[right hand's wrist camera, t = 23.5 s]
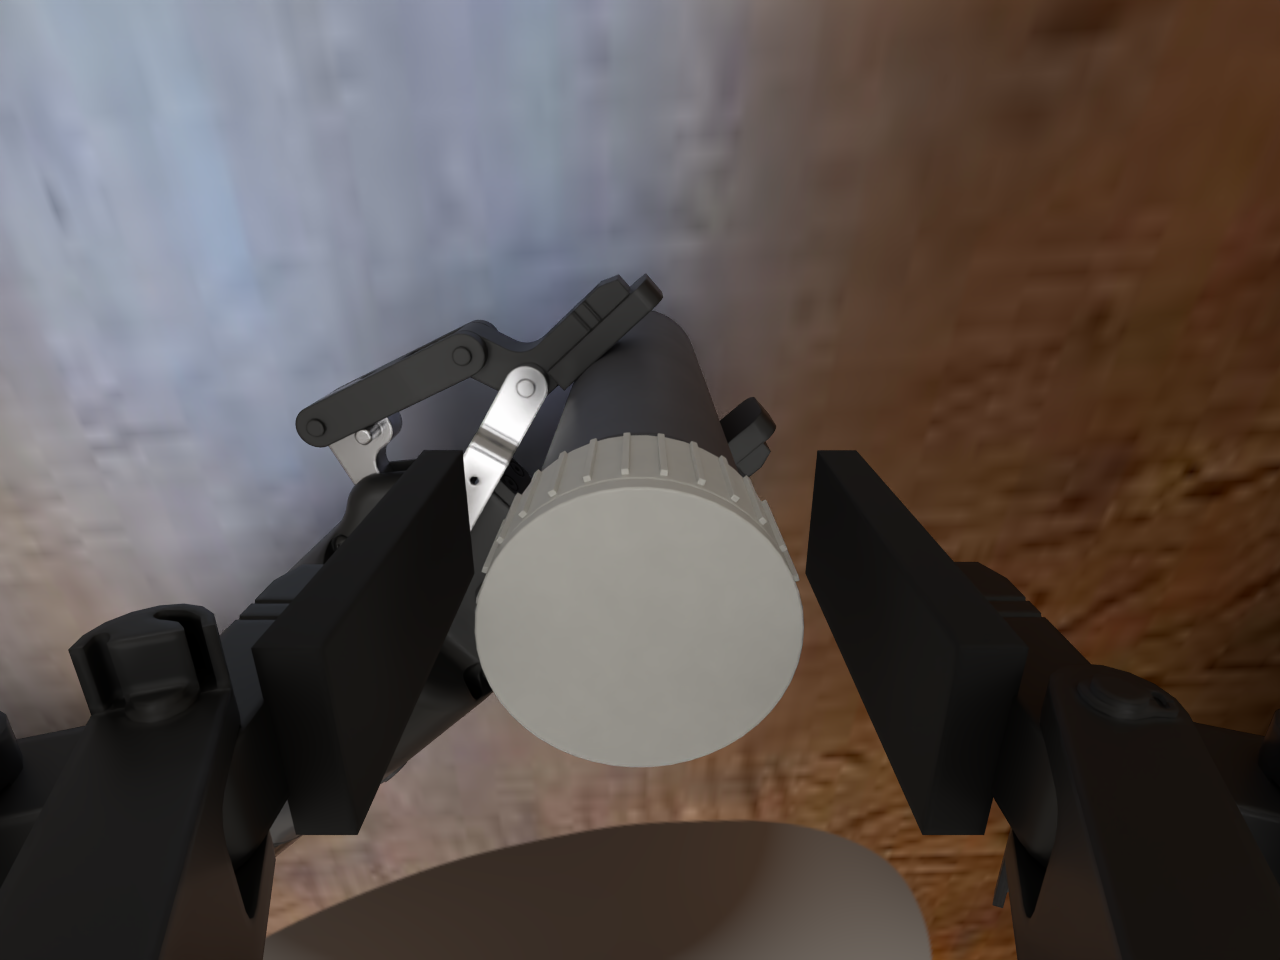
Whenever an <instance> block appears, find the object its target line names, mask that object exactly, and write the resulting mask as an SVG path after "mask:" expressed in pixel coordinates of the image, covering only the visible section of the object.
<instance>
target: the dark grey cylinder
mask: <svg viewBox="0 0 1280 960" xmlns="http://www.w3.org/2000/svg"><path fill="white" fill-rule="evenodd" d="M629 432H630V436H633V435H649V436H658V433H660V434H664V435H665V437H666V438H670V439H675V440H679V441H683V442H686V443H689V444H690V442H691V441H693V442H696V443H697V445H698V447H699V448H702V449H704V450H706V451H707V452H709V453H711V454H713V455H715V456H717V457H719V458H720V456H721V455H722V456H723V457H725V458H726V459H727V462H728V465H730V466H731V467H732V468H734V469H735V470H736V471H737V472H738V470H737V467H736V464H735V462H734V459H733V456H732V453H731V451H730V448H729V445H728V443H727V440H726V437H725V434H724V432H723V429H722V426H721V424H720V421H719V418H718V415H717V413H716V410H715V407H714V404H713V402H712V399H711V396H710V394H709V391H708V388H707V385H706V383H705V380H704V377H703V374H702V372H701V369H700V366H699V364H698V361H697V358H696V355H695V353H694V350H693V347H692V345H691V342H690V340H689V338H688V337H687V335H686V333H685V332H684V331H683V330H682V328H681V327H680V326H679V325H678V324H677V323H676V322H674V321H673V320H672V319H670V318H669V317H667V316H665V315H663V314H661V313H658V312H655V311H650V312H649V313H648V314H647V315H646V316H645V317H644V318H643V319H642V320H641V321H639V322H638V323H637V324H636V325H635V326H634V327H633V328H632V329H631V330H630V331H629V332H628V333H626V334H625V335H624V336H623V337H622V338H621V339H620V340H619V341H618V342H617V343H616V344H614V345H613V346H612V347H611V348H610V349H609V350H608V351H607V352H606V353H605V354H604V355H602V356H601V357H600V358H599V359H598V360H597V361H596V362H595V363H594V364H592V365H591V366H590V367H589V368H588V369H587V370H586V371H584V373H583V374H582V375H581V376H580V377H579V378H577V379H576V380H575V381H574V383H573V386H572V389H571V391H570V394H569V397H568V399H567V402H566V405H565V407H564V410H563V413H562V416H561V418H560V421H559V424H558V426H557V429H556V432H555V434H554V437H553V440H552V443H551V445H550V448H549V451H548V453H547V456H546V459H545V461H544V464H543V467H542V470H541V472H542V471H543V470H544V469H545V468H547V467H548V466H549V465H551V464H552V463H553V462H554V461H556V460H557V459H558V458H559V455H560V453H562V452H563V451H566V453H569V452H571V451H573V450H575V449H577V448H580V447H582V446H585V445H587V444H589V443H590V440H592V439H595V438H596V439H597V441H600V440H604V439H607V438H614V437H621V436H623V434H624V433H629Z"/></svg>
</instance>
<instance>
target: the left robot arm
mask: <svg viewBox="0 0 1280 960" xmlns="http://www.w3.org/2000/svg"><path fill="white" fill-rule="evenodd" d="M662 298H663V295H662V291H661V290H660V289H659V288H658V287H657V286H656V285H655V283H654V282H653V281H652V280H651V279H650V278H649V276H648V275H647V274H644V275H643V276H642V277H640V278H639V279H638V280H637V281H636V282H635V283H634V284H633V285H632V286H631V287H629V285H628V284H627V283H626V282H625V281H624V280H623V279H622V278H621V276H620V275H616V276H614V277H611V278H609V279H606V280H603V281H601V282H600V283H599V284H598V285H597V286H596V287H595V288H594V289H593V290H592V291H591V292H590V293H589V294H588V295H587V296H585V297H584V298H583V299H582V300H581V301H580V302H579V303H578V304H577V305H576V306H575V307H574V308H573V309H572V310H571V311H570V312H569V313H568V314H567V315H566V316H565V317H563V318H562V319H561V320H560V321H559V322H558V323H557V324H556V325H555V326H554V327H553V328H552V329H551V330H550V331H549V332H548V333H547V334H546V335H545V336H543V337H542V338H541V339H539V340H537V341H535V342H530V343H524V342H519V341H516V340H514V339H512V338H510V337H508V336H506V335H504V334H502V333H500V332H498V330H497V329H496V328H495V327H494V326H493V325H492V324H491V323H489V322H487V321H484V320H475V321H472V322H470V323H468V324H466V325H464V326H462V327H460V328H458V329H456V330H454V331H452V332H450V333H448V334H446V335H444V336H442V337H440V338H438V339H436V340H434V341H432V342H430V343H428V344H426V345H424V346H422V347H420V348H418V349H416V350H414V351H412V352H410V353H408V354H406V355H404V356H402V357H400V358H398V359H396V360H394V361H392V362H390V363H388V364H386V365H384V366H382V367H380V368H378V369H376V370H374V371H372V372H370V373H368V374H366V375H363V376H361V377H359V378H357V379H355V380H353V381H351V382H349V383H347V384H345V385H343V386H341V387H339V388H338V389H336V390H334V391H333V392H331V393H330V394H328V395H326V396H325V397H323V398H321V399H320V400H318V401H316V402H315V403H313V404H312V405H310V406H308V407H307V408H305V409H303V410H302V411H301V412H300V413H299V414H298V416H297V418H296V429H297V432H298V434H299V436H300V437H301V438H302V439H303V440H304V441H305V442H306V443H308V444H309V445H312V446H315V447H326V446H329V447H330V449H331V450H332V452H333V453H334V455H335V456H336V458H337V459H338V461H339V462H340V464H341V465H342V467H343V468H344V470H345V471H346V473H347V474H348V476H349V477H350V479H351V480H352V482H353V483H354V485H355V486H354V487H353V489H352V491H351V492H350V495H349V497H348V502H347V508H346V512H345V515H344V517H343V519H342V521H341V522H340V523H339V524H338V525H336V526H335V527H334V528H333V529H332V530H331V531H330V532H329V533H328V534H327V535H326V536H325V537H324V538H323V539H322V540H321V541H320V542H319V543H318V544H317V545H316V546H315V547H314V548H312V549H311V550H310V551H309V552H308V553H307V554H306V555H305V556H304V557H303V558H302V559H301V560H300V561H299V562H298V563H297V564H296V565H295V566H294V567H293V568H292V569H291V570H290V571H292V570H294V569H295V568H297V567H299V566H301V565H302V564H325V563H326V562H327V560H328V559H329V558H330V557H331V556H332V555H333V554H334V552H335V551H336V550H337V549H338V548H339V547H340V546H341V544H342V543H343V542H344V541H345V540H346V539H347V538H348V536H349V535H350V534H351V533H352V532H353V531H354V530H355V528H356V527H357V526H358V525H359V524H360V523H361V522H362V520H363V519H364V518H365V517H366V516H367V515H368V514H369V512H370V511H371V510H372V509H373V508H374V507H375V506H376V505H377V503H378V502H379V501H380V500H381V499H382V498H383V497H384V495H385V494H386V493H387V492H388V491H389V490H390V489H391V487H392V486H393V485H394V484H395V483H396V482H397V481H398V479H399V478H400V477H401V476H402V475H403V474H404V473H405V471H406V470H407V469H408V468H409V467H410V466H411V465H412V463H413V462H414V461H415V460H416V459H410V460H401V461H391V462H389V461H388V459H387V456H386V447H387V444H388V443H389V442H390V441H391V440H392V439H393V438H394V437H395V436H396V435H397V434H398V433H399V432H400V430H401V428H402V418H401V415H400V413H399V411H401V410H403V409H405V408H408V407H410V406H412V405H414V404H416V403H418V402H420V401H422V400H424V399H426V398H428V397H430V396H432V395H434V394H436V393H438V392H441V391H443V390H445V389H447V388H449V387H451V386H453V385H455V384H457V383H459V382H461V381H463V380H465V379H467V378H469V377H471V378H473V379H475V380H477V381H479V382H481V383H483V384H485V385H487V386H489V387H492V388H494V389H496V390H498V391H499V392H498V394H497V396H496V398H495V400H494V401H493V403H492V405H491V407H490V409H489V411H488V413H487V414H486V416H485V418H484V420H483V422H482V424H481V425H480V427H479V429H478V431H477V432H476V434H475V436H474V437H473V439H472V441H471V442H470V444H469V446H468V448H467V450H466V452H465V453H464V454H463V460H464V470H465V481H466V491H467V501H468V511H469V522H470V532H471V542H472V552H473V562H474V576H473V578H472V580H471V582H470V585H469V587H468V589H467V591H466V594H465V596H464V598H463V600H462V603H461V605H460V607H459V609H458V611H457V614H456V616H455V618H454V620H453V623H452V625H451V627H450V629H449V632H448V634H447V636H446V638H445V641H444V643H443V645H442V647H441V649H440V652H439V654H438V656H437V658H436V661H435V663H434V665H433V667H432V670H431V672H430V674H429V676H428V678H427V681H426V683H425V685H424V687H423V690H422V692H421V694H420V696H419V699H418V701H417V703H416V705H415V708H414V710H413V712H412V714H411V716H410V719H409V721H408V723H407V725H406V728H405V730H404V732H403V734H402V737H401V739H400V741H399V743H398V746H397V748H396V750H395V752H394V754H393V757H392V759H391V761H390V763H389V766H388V768H387V770H386V772H385V775H384V777H383V779H382V781H381V783H383V782H387V781H388V780H389V779H391V778H392V777H393V776H394V775H395V774H396V773H397V772H398V771H400V769H401V768H402V767H403V766H404V765H405V764H406V763H407V761H408V760H409V759H411V758H412V757H413V756H414V755H416V754H417V753H418V752H419V751H421V750H422V749H423V748H424V747H426V746H427V745H428V744H429V743H431V742H432V741H433V740H434V739H436V738H437V737H438V736H439V735H441V734H442V733H443V732H444V731H446V730H447V729H448V728H449V727H451V726H452V725H453V724H455V723H456V722H457V721H458V720H460V719H461V718H462V717H463V716H465V715H466V714H467V713H468V712H470V711H471V710H472V709H473V708H475V707H476V706H477V705H478V704H480V703H481V702H482V701H483V700H485V699H486V698H487V697H488V696H489V695H490V694H491V693H492V692H493V690H492V688H491V687H490V685H489V683H488V681H487V678H486V676H485V674H484V672H483V669H482V667H481V663H480V659H479V656H478V652H477V648H476V639H475V611H476V606H477V604H476V597H477V595H478V593H479V590H480V588H481V585H482V583H483V581H484V578H485V576H486V573H483V572H482V569H483V566H484V564H485V561H486V559H487V557H488V554H489V552H490V550H491V547H492V545H493V543H494V540H495V538H496V536H497V534H498V531H499V529H500V527H501V524H502V522H503V520H504V519H506V516H507V514H508V511H509V509H510V507H511V504H512V502H513V500H514V497H515V496H516V494H517V493H519V494H521V495H522V494H523V492H524V491H525V490H526V488H527V487H528V485H529V484H530V483H531V480H532V479H531V478H530V476H529V474H528V473H527V472H526V471H525V470H524V469H523V468H522V467H521V466H520V465H519V464H518V463H517V462H516V461H515V460H514V459H513V458H512V457H513V455H514V453H515V451H516V450H517V448H518V446H519V444H520V442H521V441H522V439H523V437H524V435H525V434H526V432H527V430H528V428H529V426H530V425H531V423H532V421H533V419H534V418H535V416H536V414H537V412H538V411H539V409H540V407H541V405H542V403H543V402H544V400H545V398H546V396H547V395H548V394H549V393H550V392H552V391H553V390H554V389H555V388H556V387H557V386H558V385H559V386H560V387H561V388H562V389H563V390H566V389H567V388H568V387H569V386H570V385H571V384H572V383H573V382H574V381H575V380H576V379H577V378H579V377H580V376H581V375H582V374H583V373H584V371H586V370H587V369H588V368H589V367H590V366H591V365H592V364H594V363H595V362H596V361H597V360H598V359H599V358H600V357H601V356H602V355H604V354H605V353H606V352H607V351H608V350H609V349H610V348H611V347H612V346H613V345H614V344H616V343H617V342H618V341H619V340H620V339H621V338H622V337H623V336H624V335H625V334H626V333H628V332H629V331H630V330H631V329H632V328H633V327H634V326H635V325H636V324H637V323H638V322H639V321H641V320H642V319H643V318H644V317H645V316H646V315H647V314H648V313H649V312H650V311H651V310H652V309H653V308H654V307H655V306H656V305H657V304H658V303H659V302H660V301H661V300H662ZM720 424H721V426H722V429H723V432H724V434H725V437H726V440H727V443H728V445H729V448H730V451H731V453H732V456H733V459H734V462H735V464H736V467H737V470H738V473H739V474H740V475H741V476H742V477H743V478H744V477H745V476H746V475H747V476H748V477H750V476H751V475H752V474H753V473H755V472H756V471H757V470H758V469H760V468H761V467H762V465H763V464H764V462H765V460H766V459H767V457H768V455H769V454H770V452H771V451H770V449H769V447H768V446H767V444H766V442H765V441H766V440H768V439H769V438H770V436H771V435H772V434H773V433H774V431H775V429H776V425H775V423H774V422H773V420H772V419H771V417H770V415H769V414H768V413H767V411H766V410H765V409H764V408H763V407H762V406H761V404H760V403H759V402H758V401H757V400H756V399H755V398H754V397H751V398H748V399H746V400H745V401H743V402H742V403H741V404H739V405H738V406H737V407H736V408H735V409H734V410H732V411H731V412H730V413H729V414H728V415H726V416H725V417H724V418H723V419H722V420H720ZM290 571H288V572H290ZM288 572H287V573H288ZM239 619H240V618H239ZM239 619H238V620H239ZM225 630H226V629H225ZM225 630H224V631H225ZM224 631H223V632H224ZM223 632H222V633H223ZM270 833H271V837H272V841H273V845H274V852H275V857H276V856H277V855H279V854H280V853H281V852H282V851H284V850H285V849H286V848H287V847H289V846H290V845H291V844H292V843H294V842H295V841H296V840H297V839H299V838H300V837H301V836H302V835H296V833H295V829H294V825H293V821H292V817H291V813H290V808H289V804H288V800H287V801H286V803H285V805H284V806H283V808H282V810H281V811H280V813H279V815H278V816H277V818H276V820H275V821H274V823H273V825H272V826H271V828H270Z"/></svg>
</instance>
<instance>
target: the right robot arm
mask: <svg viewBox="0 0 1280 960" xmlns="http://www.w3.org/2000/svg"><path fill="white" fill-rule="evenodd" d="M473 576H474V562H473V552H472V542H471V532H470V522H469V511H468V501H467V491H466V481H465V470H464V460H463V450H424V451H423V452H422V453H421V454H420V455H419V457H418V458H417V459H416V460H415V461H414V462H413V463H412V465H411V466H410V467H409V468H408V469H407V470H406V471H405V473H404V474H403V475H402V476H401V477H400V478H399V479H398V481H397V482H396V483H395V484H394V485H393V486H392V487H391V489H390V490H389V491H388V492H387V493H386V494H385V495H384V497H383V498H382V499H381V500H380V501H379V502H378V503H377V505H376V506H375V507H374V508H373V509H372V510H371V511H370V512H369V514H368V515H367V516H366V517H365V518H364V519H363V520H362V522H361V523H360V524H359V525H358V526H357V527H356V528H355V530H354V531H353V532H352V533H351V534H350V535H349V536H348V538H347V539H346V540H345V541H344V542H343V543H342V544H341V546H340V547H339V548H338V549H337V550H336V551H335V552H334V554H333V555H332V556H331V557H330V558H329V559H328V560H327V562H326V563H325V564H302V565H301V566H299V567H297V568H295V569H294V570H292V571H290V572H288V573H286V574H285V575H283V576H281V577H279V578H278V579H276V580H274V581H273V582H272V583H271V584H270V585H269V586H268V587H267V588H266V589H265V590H264V591H263V592H262V593H261V594H260V595H259V596H258V597H257V598H256V599H255V604H251V605H250V606H249V607H248V608H247V609H246V610H245V611H244V612H243V613H242V614H241V615H240V619H239V620H235V621H234V622H233V623H232V624H231V625H230V626H229V627H228V628H227V629H226V630H225V631H224V632H223V633H222V634H221V635H220V636H219V632H218V628H217V624H216V620H215V617H214V614H213V613H212V612H210V611H209V610H207V609H206V608H204V607H203V606H196V605H189V604H174V605H161V606H156V607H151V608H147V609H143V610H139V611H134V612H131V613H128V614H126V615H123V616H120V617H118V618H115V619H113V620H110V621H108V622H105V623H103V624H102V625H100V626H98V627H97V628H95V629H93V630H91V631H90V632H88V633H86V634H85V635H83V636H82V637H81V638H80V639H79V640H78V641H77V642H76V643H75V644H74V645H73V646H72V647H71V648H70V649H69V653H70V656H71V659H72V662H73V665H74V667H75V670H76V673H77V676H78V679H79V681H80V684H81V687H82V690H83V693H84V696H85V698H86V701H87V704H88V707H89V710H90V713H91V717H90V719H89V721H88V723H87V724H86V726H82V727H77V728H72V729H67V730H62V731H57V732H52V733H47V734H42V735H37V736H32V737H27V738H22V739H17V740H16V738H15V735H14V733H13V731H12V728H11V726H10V723H9V721H8V718H7V716H6V714H4V713H3V712H1V711H0V960H263V953H264V945H265V938H266V930H267V922H268V915H269V907H270V899H271V891H272V884H273V876H274V868H275V860H276V859H275V852H274V845H273V841H272V837H271V833H270V828H271V826H272V825H273V823H274V821H275V820H276V818H277V816H278V815H279V813H280V811H281V810H282V808H283V806H284V805H285V803H286V801H287V800H288V804H289V808H290V813H291V817H292V821H293V825H294V829H295V833H296V835H358V833H359V830H360V828H361V826H362V824H363V821H364V819H365V817H366V815H367V813H368V810H369V808H370V806H371V804H372V801H373V799H374V797H375V795H376V792H377V790H378V788H379V786H380V784H381V781H382V779H383V777H384V775H385V772H386V770H387V768H388V766H389V763H390V761H391V759H392V757H393V754H394V752H395V750H396V748H397V746H398V743H399V741H400V739H401V737H402V734H403V732H404V730H405V728H406V725H407V723H408V721H409V719H410V716H411V714H412V712H413V710H414V708H415V705H416V703H417V701H418V699H419V696H420V694H421V692H422V690H423V687H424V685H425V683H426V681H427V678H428V676H429V674H430V672H431V670H432V667H433V665H434V663H435V661H436V658H437V656H438V654H439V652H440V649H441V647H442V645H443V643H444V641H445V638H446V636H447V634H448V632H449V629H450V627H451V625H452V623H453V620H454V618H455V616H456V614H457V611H458V609H459V607H460V605H461V603H462V600H463V598H464V596H465V594H466V591H467V589H468V587H469V585H470V582H471V580H472V578H473ZM806 576H807V578H808V580H809V582H810V585H811V587H812V589H813V591H814V594H815V596H816V598H817V600H818V603H819V605H820V607H821V609H822V611H823V614H824V616H825V618H826V620H827V623H828V625H829V627H830V629H831V632H832V634H833V636H834V638H835V641H836V643H837V645H838V647H839V649H840V652H841V654H842V656H843V658H844V661H845V663H846V665H847V667H848V670H849V672H850V674H851V676H852V678H853V681H854V683H855V685H856V687H857V690H858V692H859V694H860V696H861V699H862V701H863V703H864V705H865V708H866V710H867V712H868V714H869V716H870V719H871V721H872V723H873V725H874V728H875V730H876V732H877V734H878V737H879V739H880V741H881V743H882V746H883V748H884V750H885V752H886V754H887V757H888V759H889V761H890V763H891V766H892V768H893V770H894V772H895V775H896V777H897V779H898V781H899V784H900V786H901V788H902V790H903V792H904V795H905V797H906V799H907V801H908V804H909V806H910V808H911V810H912V813H913V815H914V817H915V819H916V822H917V824H918V826H919V828H920V830H921V833H922V835H984V833H985V829H986V825H987V821H988V817H989V813H990V808H991V804H992V800H993V797H994V799H995V801H996V803H997V804H998V806H999V808H1000V809H1001V811H1002V813H1003V814H1004V816H1005V818H1006V819H1007V821H1008V823H1009V824H1010V826H1011V830H1010V833H1009V837H1008V841H1007V845H1006V849H1005V853H1004V857H1003V861H1002V864H1001V868H1000V872H999V876H998V880H997V884H996V888H995V893H994V899H993V905H994V906H997V907H1001V908H1003V905H1004V902H1005V898H1006V894H1007V892H1008V891H1009V897H1010V905H1011V913H1012V920H1013V928H1014V936H1015V943H1016V951H1017V959H1018V960H1280V709H1278V710H1276V711H1275V713H1274V716H1273V718H1272V721H1271V723H1270V726H1269V728H1268V730H1267V733H1266V735H1265V736H1260V735H1255V734H1250V733H1245V732H1240V731H1235V730H1230V729H1225V728H1220V727H1215V726H1209V725H1204V724H1199V723H1195V722H1193V721H1192V719H1191V717H1190V715H1189V714H1188V713H1187V711H1186V710H1185V709H1184V708H1183V707H1182V705H1181V704H1180V703H1179V702H1178V701H1177V700H1176V698H1174V697H1173V696H1171V695H1170V694H1168V693H1167V692H1165V691H1164V690H1163V689H1161V688H1160V687H1158V686H1157V685H1155V684H1153V683H1151V682H1149V681H1147V680H1145V679H1142V678H1140V677H1138V676H1136V675H1134V674H1131V673H1129V672H1125V671H1122V670H1118V669H1114V668H1111V667H1107V666H1103V665H1092V664H1090V663H1089V662H1088V661H1087V660H1086V659H1085V658H1084V657H1083V656H1082V655H1081V654H1080V653H1079V651H1078V650H1077V649H1076V648H1075V647H1074V646H1073V645H1072V644H1071V643H1070V642H1069V641H1068V640H1067V639H1066V638H1065V637H1064V636H1063V635H1062V634H1061V633H1060V632H1059V631H1058V630H1057V629H1056V628H1055V627H1054V626H1053V625H1052V624H1051V623H1050V622H1049V621H1048V620H1047V619H1046V618H1045V617H1041V613H1040V612H1039V611H1038V610H1037V609H1036V608H1035V607H1034V606H1033V605H1032V603H1031V602H1030V601H1026V600H1025V596H1024V595H1023V594H1022V593H1021V592H1020V591H1019V590H1018V589H1017V588H1016V587H1015V586H1014V585H1013V584H1012V583H1011V582H1010V581H1009V580H1008V579H1007V578H1005V577H1004V576H1002V575H1000V574H998V573H996V572H995V571H993V570H991V569H989V568H988V567H986V566H984V565H982V564H980V563H979V562H953V560H952V559H951V558H950V557H949V556H948V555H947V554H946V552H945V551H944V550H943V549H942V548H941V547H940V546H939V544H938V543H937V542H936V541H935V540H934V539H933V538H932V536H931V535H930V534H929V533H928V532H927V531H926V530H925V528H924V527H923V526H922V525H921V524H920V523H919V522H918V520H917V519H916V518H915V517H914V516H913V515H912V514H911V512H910V511H909V510H908V509H907V508H906V507H905V506H904V505H903V503H902V502H901V501H900V500H899V499H898V498H897V497H896V495H895V494H894V493H893V492H892V491H891V490H890V489H889V487H888V486H887V485H886V484H885V483H884V482H883V481H882V479H881V478H880V477H879V476H878V475H877V474H876V473H875V471H874V470H873V469H872V468H871V467H870V466H869V465H868V463H867V462H866V461H865V460H864V459H863V458H862V457H861V455H860V454H859V453H858V452H857V451H856V450H817V460H816V470H815V481H814V491H813V501H812V511H811V522H810V532H809V542H808V552H807V562H806Z"/></svg>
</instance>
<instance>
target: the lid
mask: <svg viewBox="0 0 1280 960" xmlns="http://www.w3.org/2000/svg"><path fill="white" fill-rule="evenodd" d="M482 572H483V573H486V576H485V578H484V581H483V583H482V585H481V588H480V590H479V593H478V595H477V597H476V604H477V606H476V611H475V639H476V648H477V652H478V656H479V659H480V663H481V667H482V669H483V672H484V674H485V676H486V678H487V681H488V683H489V685H490V687H491V688H492V690H493V692H494V693H495V695H496V696H497V698H498V700H499V701H500V702H501V703H502V705H503V706H504V707H505V708H506V710H507V711H508V712H509V713H510V714H511V715H512V716H513V717H514V718H515V719H516V720H517V721H518V722H519V723H520V724H521V725H522V726H523V727H524V728H526V729H527V730H528V731H530V732H531V733H533V734H534V735H535V736H537V737H538V738H539V739H541V740H543V741H544V742H546V743H548V744H550V745H552V746H553V747H555V748H557V749H559V750H562V751H564V752H566V753H569V754H571V755H573V756H576V757H579V758H583V759H586V760H589V761H592V762H597V763H602V764H607V765H613V766H624V767H656V766H664V765H672V764H677V763H681V762H686V761H690V760H693V759H696V758H699V757H702V756H705V755H708V754H710V753H713V752H715V751H717V750H719V749H721V748H723V747H726V746H727V745H729V744H731V743H732V742H734V741H736V740H737V739H739V738H741V737H742V736H744V735H745V734H746V733H747V732H749V731H750V730H751V729H753V728H754V727H755V726H756V725H758V724H759V723H760V722H761V721H762V720H763V719H764V718H765V717H766V716H767V715H768V714H769V713H770V712H771V711H772V709H773V708H774V707H775V705H776V704H777V703H778V701H779V700H780V699H781V698H782V696H783V694H784V693H785V691H786V689H787V687H788V686H789V684H790V682H791V680H792V678H793V675H794V673H795V670H796V668H797V665H798V662H799V658H800V654H801V650H802V645H803V634H804V619H803V606H802V603H801V599H800V594H799V590H798V588H797V585H796V583H795V582H796V581H799V577H798V574H797V571H796V569H795V567H794V564H793V562H792V560H791V557H790V555H789V553H788V550H787V547H786V545H785V542H784V540H783V538H782V535H781V533H780V531H779V528H778V526H777V524H776V521H775V519H774V517H773V514H772V512H771V509H770V507H769V505H768V503H767V501H766V500H764V501H762V502H761V500H760V499H759V497H758V495H757V494H756V492H755V489H754V487H753V484H752V482H751V479H750V478H749V477H748V476H747V475H746V476H745V477H744V478H743V477H742V476H741V475H740V474H739V473H738V472H737V471H736V470H735V469H734V468H732V467H731V466H730V465H728V462H727V459H726V458H725V457H723V456H722V455H721V456H720V458H719V457H717V456H715V455H713V454H711V453H709V452H707V451H706V450H704V449H702V448H699V447H698V445H697V443H696V442H693V441H691V442H690V444H689V443H686V442H683V441H679V440H675V439H670V438H666V437H665V435H664V434H660V433H658V436H649V435H633V436H630V432H629V433H624V434H623V436H621V437H614V438H607V439H604V440H600V441H597V439H596V438H595V439H592V440H590V443H589V444H587V445H585V446H582V447H580V448H577V449H575V450H573V451H571V452H569V453H566V451H563V452H562V453H560V455H559V458H558V459H557V460H556V461H554V462H553V463H552V464H551V465H549V466H548V467H547V468H545V469H544V470H543V471H542V472H541V471H540V470H539V469H538V470H537V471H536V472H535V473H534V475H533V478H532V480H531V483H530V484H529V485H528V487H527V488H526V490H525V491H524V492H523V494H522V495H521V494H519V493H517V494H516V496H515V497H514V500H513V502H512V504H511V507H510V509H509V511H508V514H507V516H506V519H504V520H503V522H502V524H501V527H500V529H499V531H498V534H497V536H496V538H495V540H494V543H493V545H492V547H491V550H490V552H489V554H488V557H487V559H486V561H485V564H484V566H483V569H482Z"/></svg>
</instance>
